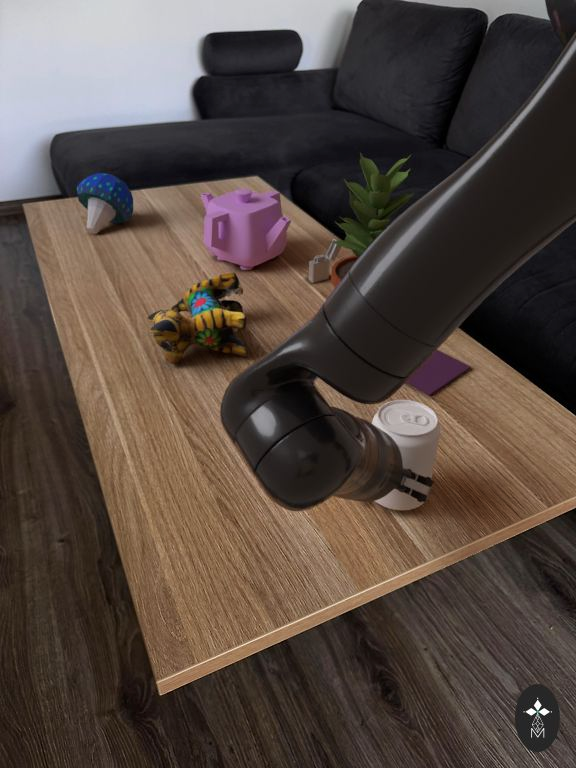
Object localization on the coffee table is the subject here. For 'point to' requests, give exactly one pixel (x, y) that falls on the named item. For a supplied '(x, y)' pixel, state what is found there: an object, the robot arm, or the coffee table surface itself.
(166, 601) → the coffee table surface
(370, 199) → the potted plant
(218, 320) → the striped cat figurine
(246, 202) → the teapot
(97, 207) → the mushroom
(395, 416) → the beverage can
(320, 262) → the lighter
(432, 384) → the cloth
